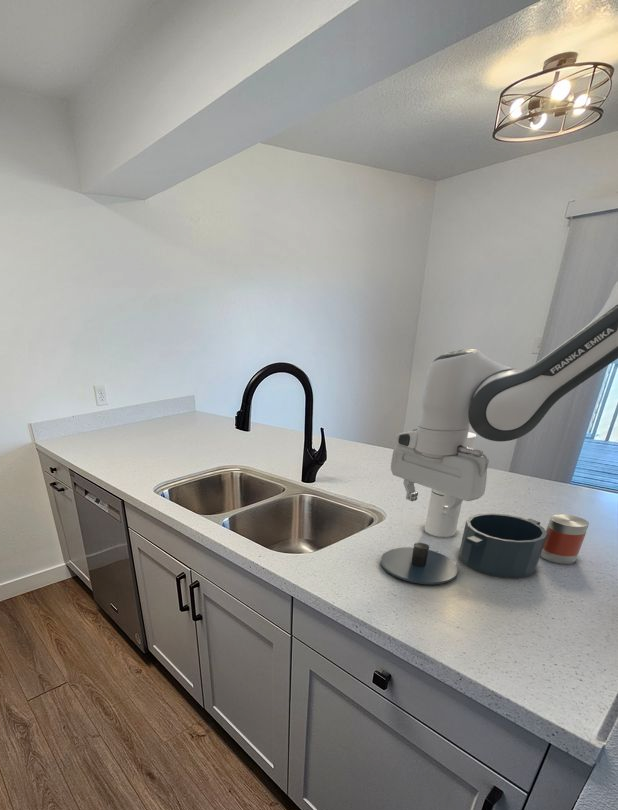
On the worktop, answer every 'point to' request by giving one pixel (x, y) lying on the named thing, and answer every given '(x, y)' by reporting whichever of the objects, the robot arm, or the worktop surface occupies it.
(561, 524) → the can
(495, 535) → the pot
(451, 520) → the cylindrical container
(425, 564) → the pot lid
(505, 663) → the worktop surface
